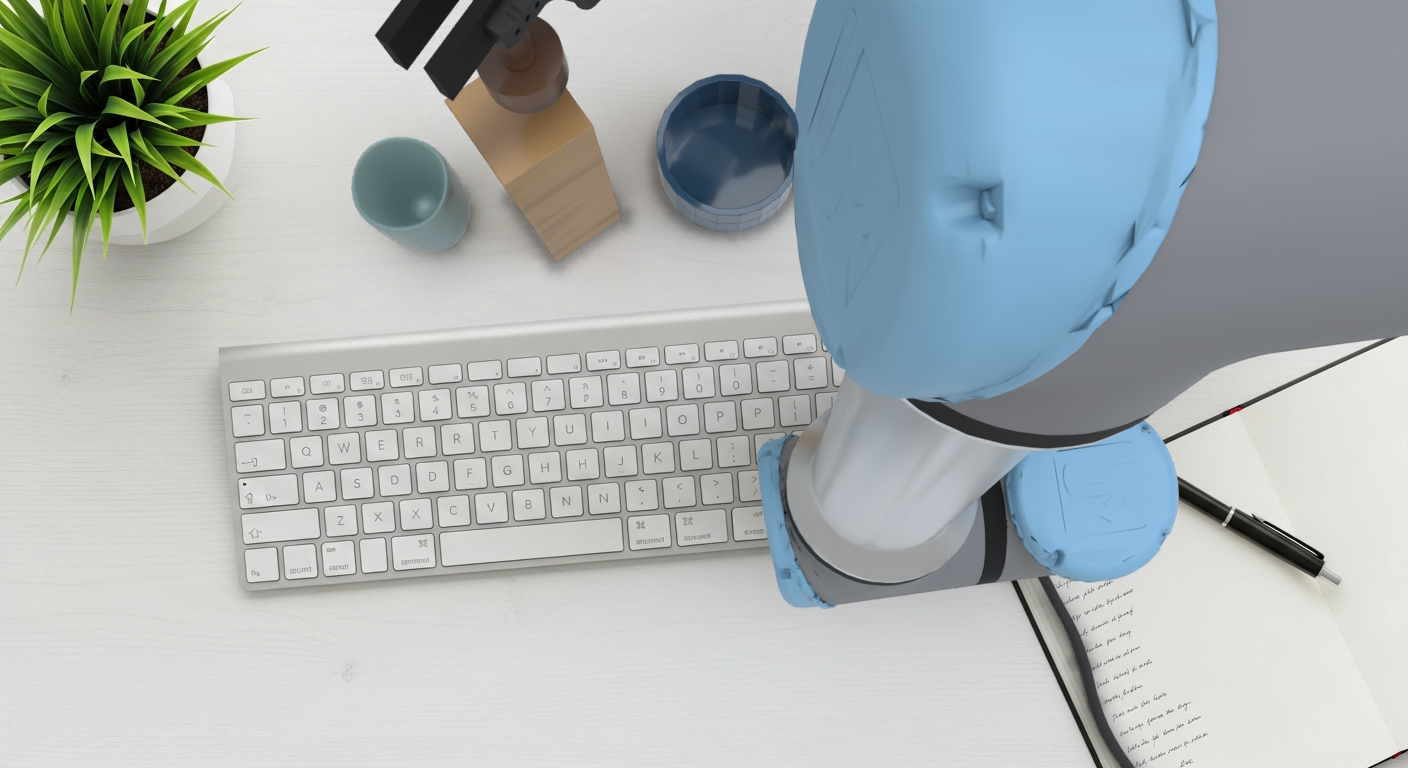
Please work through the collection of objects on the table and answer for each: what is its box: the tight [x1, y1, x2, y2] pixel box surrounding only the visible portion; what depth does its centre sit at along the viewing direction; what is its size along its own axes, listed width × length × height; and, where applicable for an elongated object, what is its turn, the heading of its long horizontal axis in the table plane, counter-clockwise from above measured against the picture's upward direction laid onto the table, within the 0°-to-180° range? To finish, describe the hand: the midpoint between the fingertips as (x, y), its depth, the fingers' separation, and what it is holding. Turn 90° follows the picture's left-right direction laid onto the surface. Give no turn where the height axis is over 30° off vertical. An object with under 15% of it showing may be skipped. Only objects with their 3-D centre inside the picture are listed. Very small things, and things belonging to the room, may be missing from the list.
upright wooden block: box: [443, 76, 622, 263], centre depth 69 cm, size 7×7×22 cm
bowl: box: [656, 73, 799, 233], centre depth 77 cm, size 12×12×6 cm
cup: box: [350, 136, 471, 253], centre depth 75 cm, size 8×8×10 cm
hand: (415, 68), depth 42 cm, fingers closed on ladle, 2 cm apart
